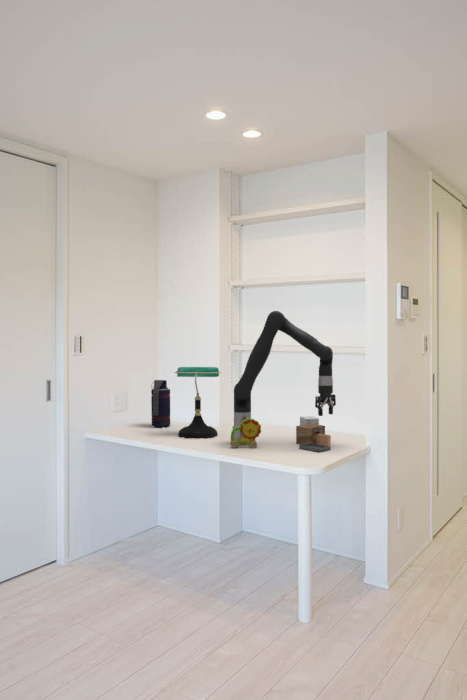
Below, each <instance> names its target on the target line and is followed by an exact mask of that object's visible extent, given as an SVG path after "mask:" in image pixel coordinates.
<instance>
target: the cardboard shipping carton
mask: <svg viewBox="0 0 467 700" xmlns="http://www.w3.org/2000/svg"><path fill="white" fill-rule="evenodd" d="M295 429H296V430H295V432H296V433H295V438H296V441H295V443H296V444H297V445H303V444H308V443H313V444H316V433H319V434H325V435H326V426H325V425H323V424H322V425H321V424H319V425H316V424H306V425H300V424H299V425H296V426H295Z"/></svg>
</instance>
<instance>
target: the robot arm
mask: <svg viewBox="0 0 467 700" xmlns="http://www.w3.org/2000/svg"><path fill="white" fill-rule="evenodd" d="M278 331H279V332H282V333H284V334H286V335H288V336H289V337H290V338H292V339H293V340H295V341H296V343H298V344H299V345H301V346H302V347H304V348H305V349H307V350H309V351H310V352H311V353H312V354H314V355H315V356H317V357H318V358H319V366H318V385H317V386H318V387H317V388H318V390H317V392H318V394H319V395H315V403H314V407H315V408H317V412H318V414H317V415H318V416H319V417H323V416H324V415H323V413H324V412H323V411H324V410H323V408H324V406H325V405H327V406H328V415H333V413H334V407H335V406H336V404H337V402H336V400H337V399H336V394H333V393H334V385H333V384H334V379H333V359H334V358H333V357H334V356H333V355H334V353H333V349H332V348H331V347H330V346H328V345H327V346H326V345H324V344H323V343H322V342H320V341H319V340H318V339H317V338H316V337H314V336H312V335H311V334H310V333H308V332H306V331H305V330H303V329H301V328H300V327H297V326H296V325H295V324H294V323H292V322H291V321H290V320H289V319H287V317H285V315H284V314H283V313H282V312H281V311H279V310H273V311H271V312H270V313H268V315H267V318H266V320H265V323H264V326H263V329H262V332H261V333H260V335H259V337H258V338H257V340H256V343H255V344H254V346H253V348H252V349H251V352H250V354H249V356H248V359H247V361H246V365H245V369H244V370H243V373H242V375H241V377H240V378H239V380H238V382H237V383H236V384H235V385H234V387H233V426H232V430H233V429H234V428H235V427H238V426H240V424H241V423H242V421H243V420H246V419H247V418H250V419H252V390H253V387H254V385H255V382H256V379H257V377H258V376H259V374H260V373H261V371H262V370H263V368H264V366H265V364H266V362H267V360H268V358H269V356H270V354H271V351H272V346H273V343H274V339H275V338H276V336H277V333H278ZM241 436H242V433H241V432H240V431H235V432H234V439H235V440H237V439H238V438H239V437H241ZM241 445H245V446H246V444H241ZM241 445H240V446H241Z"/></svg>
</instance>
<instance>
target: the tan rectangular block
mask: <svg viewBox="0 0 467 700" xmlns="http://www.w3.org/2000/svg"><path fill="white" fill-rule="evenodd" d="M331 443H332V442H331V435H330V434H326V433H325V434H319V433H316V444H319V445H324V446H330V448H331Z"/></svg>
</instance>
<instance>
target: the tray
mask: <svg viewBox="0 0 467 700" xmlns="http://www.w3.org/2000/svg"><path fill="white" fill-rule="evenodd" d="M298 445H299V447H298V449H299V450H303V451H309V452H313V453H323V452H328V451H331V447H330V446H324V445H319V444H313V443H308V444H303V445H301V444H298Z"/></svg>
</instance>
